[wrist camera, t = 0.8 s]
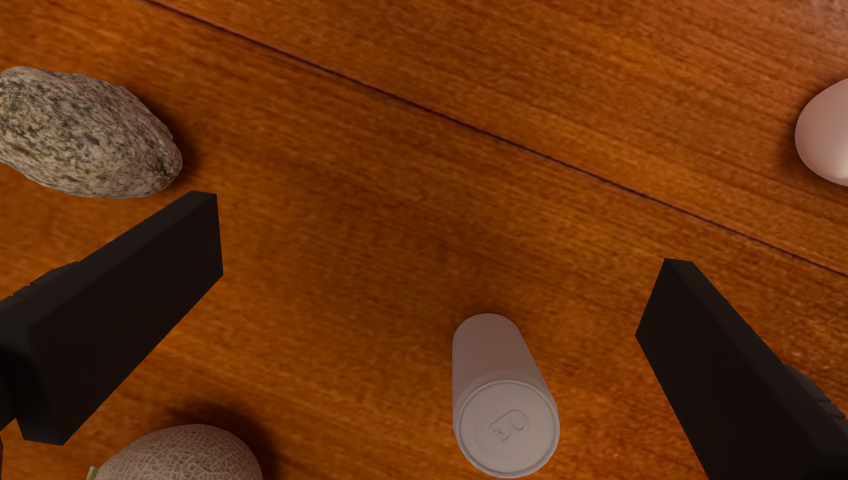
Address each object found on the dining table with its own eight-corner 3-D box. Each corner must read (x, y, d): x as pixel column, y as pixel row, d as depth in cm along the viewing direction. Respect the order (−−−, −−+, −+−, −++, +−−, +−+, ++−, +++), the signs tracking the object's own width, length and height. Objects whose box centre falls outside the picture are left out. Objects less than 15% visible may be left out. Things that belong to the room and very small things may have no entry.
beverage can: (437, 336, 33) (430, 417, 21) (494, 295, 32) (519, 354, 20) (479, 391, 33) (495, 502, 21) (536, 351, 32) (585, 442, 20)
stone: (110, 59, 32) (-41, -1, 22) (219, 155, 32) (117, 136, 22) (57, 130, 33) (-113, 101, 23) (164, 223, 33) (41, 234, 23)
